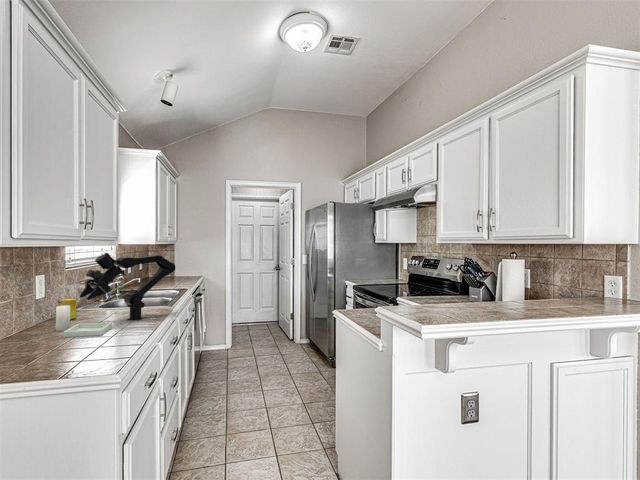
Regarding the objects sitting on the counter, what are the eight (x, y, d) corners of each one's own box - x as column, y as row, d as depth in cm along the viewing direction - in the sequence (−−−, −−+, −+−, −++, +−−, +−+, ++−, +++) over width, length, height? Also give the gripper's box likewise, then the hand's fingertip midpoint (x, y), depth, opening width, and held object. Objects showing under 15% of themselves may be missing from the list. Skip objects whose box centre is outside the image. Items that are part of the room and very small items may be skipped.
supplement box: (57, 320, 189) (57, 299, 189) (68, 318, 194) (68, 298, 194) (65, 321, 187) (65, 300, 187) (76, 319, 193) (76, 298, 193)
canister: (59, 328, 174) (59, 305, 174) (72, 327, 175) (72, 305, 175) (53, 331, 168) (53, 307, 168) (66, 330, 170) (67, 307, 170)
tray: (77, 329, 173) (77, 323, 173) (112, 327, 176) (112, 322, 176) (62, 337, 158) (63, 331, 158) (100, 336, 161) (100, 330, 161)
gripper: (90, 263, 187) (64, 285, 178) (106, 265, 175) (78, 289, 166) (106, 278, 193) (80, 300, 184) (121, 281, 181) (95, 304, 172)
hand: (83, 298), depth 176 cm, fingers open, 9 cm apart
